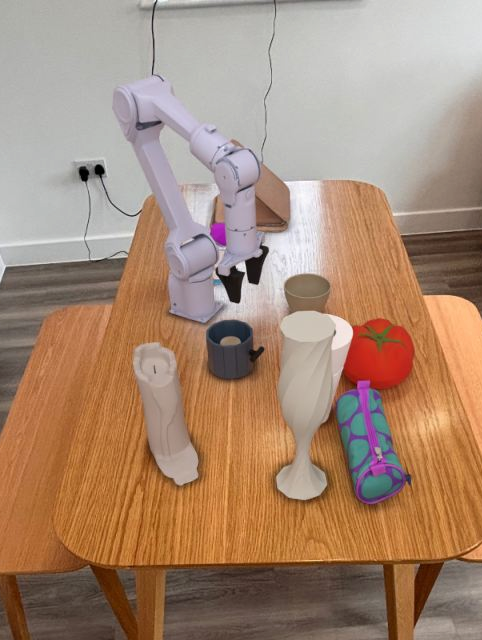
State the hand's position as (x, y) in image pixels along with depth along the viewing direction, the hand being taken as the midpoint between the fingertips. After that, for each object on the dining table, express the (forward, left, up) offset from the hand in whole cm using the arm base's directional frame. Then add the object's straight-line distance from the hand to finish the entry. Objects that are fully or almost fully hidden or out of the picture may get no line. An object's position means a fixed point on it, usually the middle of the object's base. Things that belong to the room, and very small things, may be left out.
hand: (244, 292), depth 127 cm
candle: (+7, -37, -11) cm, 39 cm away
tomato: (+29, 0, -11) cm, 31 cm away
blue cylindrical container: (+3, -10, -10) cm, 15 cm away
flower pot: (+8, +13, -11) cm, 19 cm away
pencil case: (+37, -23, -11) cm, 44 cm away
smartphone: (-21, +21, -11) cm, 32 cm away
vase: (+29, -32, -11) cm, 44 cm away
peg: (+2, -10, -10) cm, 14 cm away
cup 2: (+24, -16, -11) cm, 30 cm away
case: (-26, +49, -11) cm, 57 cm away
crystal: (-26, +33, -11) cm, 44 cm away
